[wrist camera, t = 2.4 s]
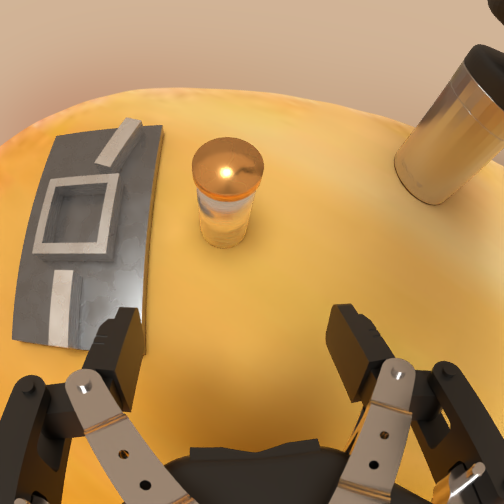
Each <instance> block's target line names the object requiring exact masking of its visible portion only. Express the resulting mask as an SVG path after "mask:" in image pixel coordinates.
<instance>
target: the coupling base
mask: <svg viewBox="0 0 504 504" xmlns="http://www.w3.org/2000/svg"><path fill="white" fill-rule="evenodd" d="M163 136H164V131H163V125H155V126H142V121H141V120H136V119H131V118H125V120H124V121H123V122H122V124H121V125H120V126H119V128H115V129H105V130H96V131H88V132H80V133H73V134H66V135H60V136H56V138H55V141H54V143H53V146H52V149H51V151H50V154H49V157H48V159H47V162H46V165H45V168H44V171H43V174H42V177H41V180H40V183H39V186H38V189H37V193H36V196H35V200H34V203H33V207H32V211H31V214H30V218H29V222H28V227H27V231H26V235H25V240H24V245H23V250H22V255H21V260H20V266H19V272H18V279H17V286H16V294H15V304H14V314H13V329H12V340H17V341H23V342H29V343H35V344H41V345H48V346H55V347H63V348H71V349H80V350H90V348H91V345H92V344H93V341H94V338H95V337H96V334H97V331H98V329H99V327H100V325H102V324H103V323H104V322H105V321H106V320H107V319H114V318H115V316H116V313H117V311H118V309H119V307H137V308H138V310H139V314H140V319H141V324H142V329H143V334H144V342H145V346H144V353H143V355H146V296H147V276H148V260H149V247H150V235H151V224H152V215H153V206H154V197H155V189H156V182H157V174H158V167H159V161H160V154H161V148H162V142H163Z"/></svg>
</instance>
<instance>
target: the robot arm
mask: <svg viewBox="0 0 504 504" xmlns="http://www.w3.org/2000/svg"><path fill="white" fill-rule="evenodd" d="M488 5H489V8H490V10H491V12H492V13H493V14H494V16H495V17H496V18H497V19H498V20H499V21H500V22H501V23H502V24H503V25H504V0H488ZM503 148H504V53H502V52H500V51H497V50H495V49H493V48H491V47H488V46H486V45H481V44H478V45H475V46H474V47H473V48H472V49H471V50H470V52H469V53H468V54H467V56H466V57H465V59H464V61H463V62H462V63H461V65H460V66H459V68H458V69H457V71H456V72H455V74H454V75H453V76H452V78H451V80H450V81H449V83H448V84H447V85H446V87H445V88H444V90H443V91H442V92H441V94H440V95H439V97H438V98H437V99H436V101H435V102H434V104H433V105H432V107H431V108H430V109H429V111H428V112H427V113H426V115H425V116H424V117H423V119H422V120H421V121H420V123H419V124H418V125H417V127H416V128H415V129H414V131H413V132H412V133H411V134H410V136H409V137H408V138H407V140H406V141H405V142H404V144H403V145H402V146H401V148H400V149H399V150H398V152H397V153H396V156H395V168H396V171H397V174H398V176H399V178H400V180H401V181H402V183H403V184H404V185H405V187H406V188H407V189H408V190H409V191H410V192H411V193H412V194H413V195H414V196H415V197H417V198H418V199H419V200H421V201H423V202H425V203H428V204H432V205H438V204H441V203H443V202H444V201H445V200H446V199H448V198H449V197H450V196H451V195H452V194H454V193H455V192H456V191H457V190H458V189H459V188H461V187H462V186H463V185H464V184H465V183H466V182H468V181H469V180H470V179H471V178H472V177H473V176H474V175H475V174H476V173H478V172H479V171H480V170H481V169H482V168H483V167H484V166H485V165H486V164H487V163H489V162H490V161H491V160H492V159H493V158H494V157H495V156H496V155H497V154H498V153H499V152H500V151H501V150H502V149H503ZM326 345H327V348H328V350H329V352H330V355H331V357H332V359H333V361H334V364H335V366H336V368H337V370H338V373H339V375H340V377H341V379H342V382H343V384H344V386H345V389H346V391H347V393H348V396H349V398H350V400H351V403H354V402H359V401H362V403H363V407H362V409H361V411H360V414H359V416H358V419H357V421H356V424H355V426H354V428H353V431H352V433H351V435H350V438H349V440H348V442H347V444H346V446H345V448H344V450H343V451H340V450H337V449H333V448H329V447H321V446H319V442H318V439H311V440H304V441H297V442H289V443H285V444H282V445H279V446H276V447H273V448H270V449H267V450H264V451H261V452H256V453H254V452H246V451H240V450H234V449H228V448H223V447H215V448H198V447H190V455H189V456H184V457H181V458H178V459H175V460H173V461H171V462H169V463H167V464H165V465H164V466H163V464H162V463H161V462H160V461H159V459H158V458H157V457H156V456H155V454H154V453H153V452H152V450H151V449H150V448H149V446H148V445H147V444H146V442H145V441H144V440H143V438H142V437H141V435H140V434H139V433H138V431H137V430H136V428H135V427H134V425H133V424H132V423H131V421H130V420H129V418H128V417H127V415H126V414H123V412H131V409H132V404H133V399H134V394H135V389H136V384H137V380H138V375H139V371H140V366H141V362H142V358H143V353H144V346H145V342H144V334H143V329H142V324H141V319H140V314H139V310H138V308H137V307H119V309H118V311H117V313H116V316H115V318H114V319H107V320H106V321H105V322H104V323H103V324H102V325H100V327H99V329H98V331H97V334H96V337H95V338H94V341H93V344H92V345H91V348H90V350H89V352H88V355H87V357H86V360H85V362H84V364H83V367H82V369H81V370H77V371H75V372H73V373H72V374H71V375H70V376H69V377H68V378H67V380H66V382H65V383H59V384H51V385H45V383H44V381H43V380H42V379H41V378H40V377H38V376H35V375H28V376H25V377H23V378H21V379H20V380H19V381H18V382H17V383H16V384H15V386H14V388H13V390H12V393H11V395H10V397H9V400H8V402H7V405H6V407H5V410H4V412H3V415H2V418H1V420H0V504H61V500H62V493H63V485H64V479H65V472H66V467H67V461H68V456H69V450H70V445H71V440H72V438H74V437H82V436H86V438H87V440H88V442H89V444H90V446H91V448H92V450H93V451H94V453H95V455H96V457H97V459H98V460H99V462H100V464H101V466H102V467H103V469H104V471H105V472H106V474H107V476H108V477H109V479H110V480H111V482H112V484H113V485H114V487H115V488H116V490H117V491H118V493H119V494H120V496H121V497H122V499H123V500H124V502H123V503H122V504H504V439H503V437H502V435H501V434H500V432H499V430H498V429H497V427H496V425H495V423H494V422H493V420H492V418H491V417H490V415H489V413H488V412H487V410H486V409H485V407H484V405H483V404H482V402H481V401H480V399H479V398H478V396H477V394H476V393H475V391H474V390H473V388H472V387H471V385H470V384H469V382H468V381H467V379H466V378H465V376H464V375H463V373H462V372H461V370H460V369H459V368H458V367H457V366H456V365H454V364H453V363H450V362H447V361H440V362H438V363H436V364H435V365H434V367H433V369H432V371H421V370H415V369H414V367H413V366H412V365H411V364H410V363H409V362H407V361H405V360H403V359H400V358H395V356H394V355H393V353H392V352H391V350H390V349H389V347H388V346H387V344H386V342H385V341H384V339H383V338H382V337H381V335H380V333H379V332H378V330H376V327H375V326H374V324H373V323H372V321H371V320H369V319H368V318H367V317H365V316H364V315H363V314H358V313H357V311H356V310H355V308H354V307H353V305H352V304H336V305H333V307H332V309H331V314H330V318H329V322H328V326H327V331H326ZM442 409H443V410H444V412H445V413H446V415H447V417H448V419H449V421H450V425H451V427H450V429H449V427H448V425H447V423H446V421H445V419H444V417H443V415H442V413H441V411H442ZM122 411H123V412H122ZM410 425H411V427H412V429H413V431H414V434H415V436H416V438H417V440H418V443H419V445H420V447H421V449H422V452H423V454H424V457H425V459H426V461H427V464H428V466H429V468H430V471H431V473H432V476H433V478H434V481H435V483H436V485H435V487H434V490H433V498H432V500H431V502H429V501H427V500H425V499H423V498H421V497H420V496H418V495H416V494H414V493H412V492H410V491H408V490H407V489H405V488H403V487H401V486H400V485H398V484H396V483H394V481H395V478H396V475H397V472H398V469H399V466H400V462H401V459H402V455H403V452H404V448H405V444H406V441H407V437H408V433H409V428H410Z"/></svg>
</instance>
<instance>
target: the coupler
mask: <svg viewBox="0 0 504 504" xmlns="http://www.w3.org/2000/svg"><path fill="white" fill-rule="evenodd" d="M263 170H264V163H263V159H262V156H261V154H260V153H259V151H258V150H257V149H256V148H255V147H254V146H253V145H251V144H250V143H248V142H246V141H244V140H241V139H237V138H231V137H223V138H217V139H214V140H211V141H209V142H207V143H205V144H204V145H202V146H201V147H200V148H199V149H198V150H197V152H196V153H195V155H194V157H193V161H192V172H193V179H194V182H195V184H196V186H197V196H198V207H199V217H200V228H201V233H202V236H203V237H204V239H205V240H206V241H207V242H208V243H209V244H211V245H212V246H214V247H217V248H230V247H233V246H235V245H237V244H238V243H240V242H241V241H242V239H243V238H244V236H245V234H246V230H247V226H248V222H249V217H250V213H251V209H252V204H253V200H254V196H255V191H256V189H257V188H258V186H259V184H260V182H261V179H262V175H263Z"/></svg>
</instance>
